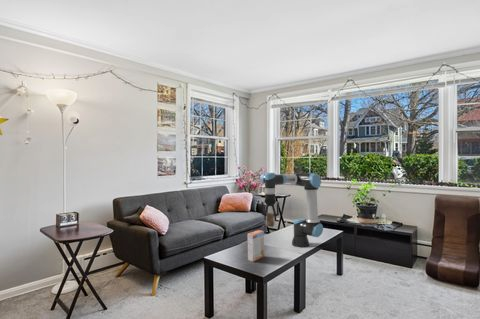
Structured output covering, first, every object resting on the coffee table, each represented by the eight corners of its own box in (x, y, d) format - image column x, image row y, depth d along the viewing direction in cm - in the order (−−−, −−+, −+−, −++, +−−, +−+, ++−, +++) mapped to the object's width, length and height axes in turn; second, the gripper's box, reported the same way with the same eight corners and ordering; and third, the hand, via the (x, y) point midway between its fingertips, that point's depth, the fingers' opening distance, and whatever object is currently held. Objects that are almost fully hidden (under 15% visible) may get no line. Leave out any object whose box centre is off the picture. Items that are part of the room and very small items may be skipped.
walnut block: (274, 225, 220) (274, 213, 220) (273, 226, 215) (273, 214, 215) (267, 224, 221) (267, 213, 221) (266, 226, 216) (266, 214, 216)
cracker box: (258, 255, 234) (258, 229, 234) (264, 257, 230) (264, 230, 230) (247, 260, 224) (247, 233, 224) (253, 262, 220) (253, 234, 220)
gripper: (282, 193, 219) (283, 224, 220) (259, 192, 223) (259, 223, 224) (281, 194, 212) (282, 226, 212) (257, 194, 216) (257, 225, 217)
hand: (270, 224), depth 218 cm, fingers closed on walnut block, 5 cm apart
